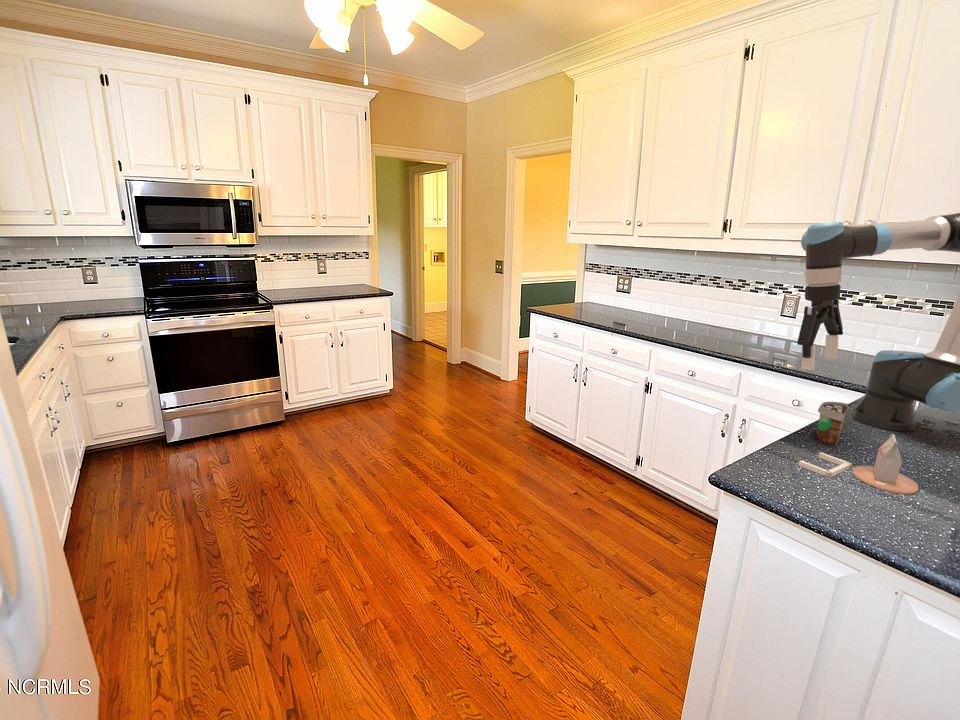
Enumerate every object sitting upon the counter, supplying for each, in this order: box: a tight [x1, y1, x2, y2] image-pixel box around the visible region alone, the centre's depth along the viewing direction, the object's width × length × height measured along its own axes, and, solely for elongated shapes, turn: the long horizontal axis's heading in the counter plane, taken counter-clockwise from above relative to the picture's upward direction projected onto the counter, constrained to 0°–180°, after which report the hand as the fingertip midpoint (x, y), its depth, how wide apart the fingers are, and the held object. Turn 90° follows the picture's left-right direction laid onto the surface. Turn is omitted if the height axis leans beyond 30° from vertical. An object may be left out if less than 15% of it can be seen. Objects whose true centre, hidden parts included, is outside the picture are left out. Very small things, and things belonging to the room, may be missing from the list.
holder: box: [797, 451, 853, 479], centre depth 120 cm, size 11×7×1 cm, turn 121°
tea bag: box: [873, 433, 903, 485], centre depth 112 cm, size 4×7×10 cm, turn 144°
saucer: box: [852, 465, 919, 495], centre depth 114 cm, size 12×12×1 cm
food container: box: [816, 401, 849, 448], centre depth 136 cm, size 12×6×10 cm, turn 138°
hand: (819, 363), depth 129 cm, fingers open, 13 cm apart
